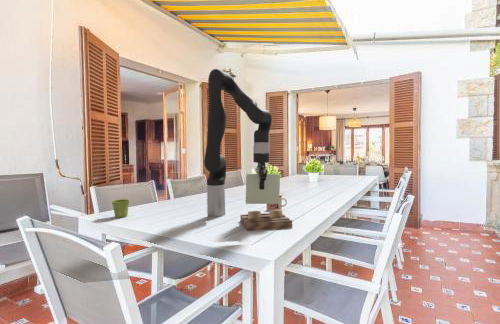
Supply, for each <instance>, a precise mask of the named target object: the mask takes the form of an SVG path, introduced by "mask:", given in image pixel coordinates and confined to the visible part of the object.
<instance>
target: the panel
mask: <svg viewBox="0 0 500 324" xmlns="http://www.w3.org/2000/svg"><path fill="white" fill-rule="evenodd" d="M260 175H261V174H260ZM245 176H246V177H245V179H246V181H245V205H262V204H263V205H265V204H266V205H267V204H279V194H280V192H281V191H280V187H281V186H280V185H281V184H280V183H281V174H280V173H267V176H266V180H265V181H264V189H260V181H259V176H258V174H257V173H246V175H245ZM262 178H263V177H262Z"/></svg>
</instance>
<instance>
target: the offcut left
mask: <svg viewBox="0 0 500 324" xmlns="http://www.w3.org/2000/svg"><path fill="white" fill-rule="evenodd" d="M247 214H248V219H260V218H261V214H262V212H261V211H260V210H253V211H251V210H249V211H247Z"/></svg>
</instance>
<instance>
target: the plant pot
mask: <svg viewBox="0 0 500 324" xmlns="http://www.w3.org/2000/svg"><path fill="white" fill-rule="evenodd" d="M130 201H131V200H130V199H125V198H123V199H116V200H111V201H110V203H111V205H112V207H113V212H114V217H115V218H118V219H119V218H126V217H128V215H129V213H128V212H129V204H130Z"/></svg>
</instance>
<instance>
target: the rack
mask: <svg viewBox="0 0 500 324" xmlns="http://www.w3.org/2000/svg"><path fill="white" fill-rule="evenodd" d="M240 223H241V224H242V225H243V227H244V229H245V230H246V231H248V232H253V231H267V230H281V229H293V220H292V219H290V218H289V217H288V216H286V214H284V213H282V217H275V218H270V212H264V213H262V212H261V218H260V219H248V213H247V214H240Z"/></svg>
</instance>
